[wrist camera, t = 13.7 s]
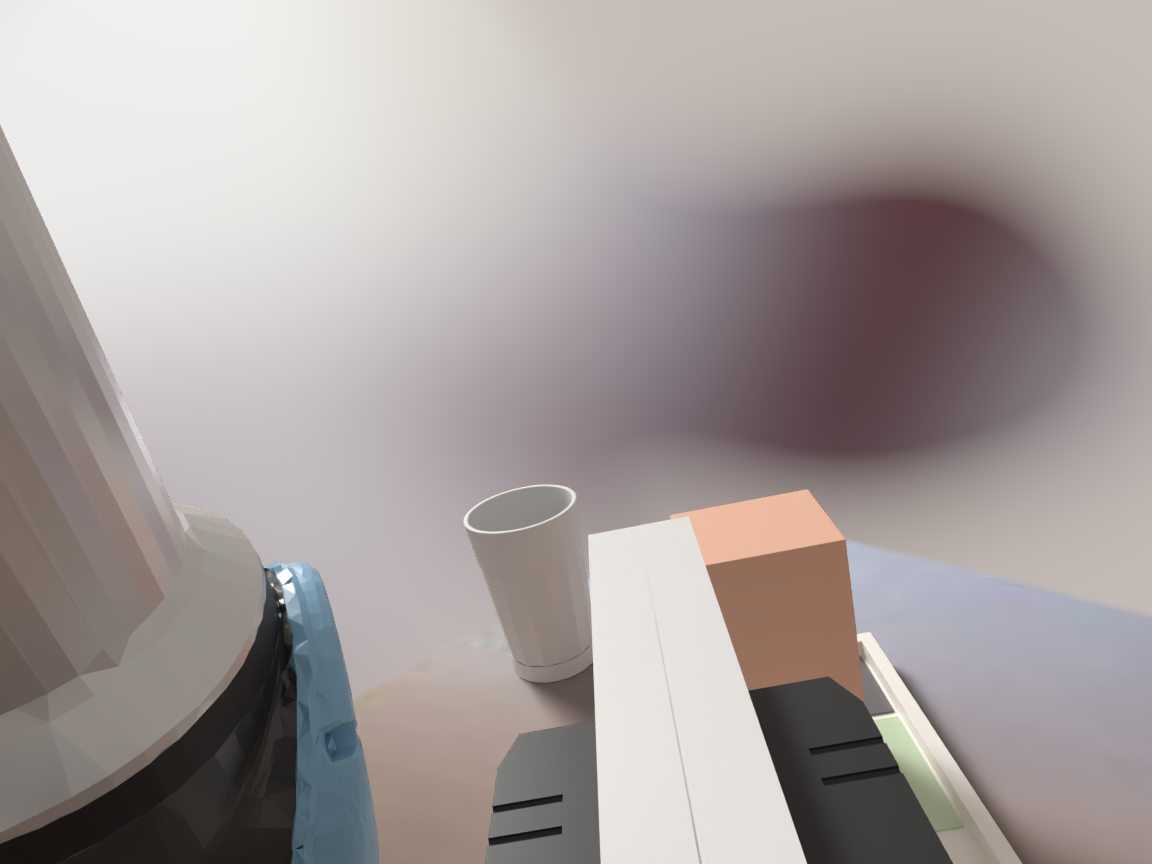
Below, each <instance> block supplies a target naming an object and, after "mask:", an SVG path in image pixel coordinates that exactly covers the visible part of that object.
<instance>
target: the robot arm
mask: <svg viewBox="0 0 1152 864" xmlns="http://www.w3.org/2000/svg"><path fill="white" fill-rule="evenodd" d="M588 540H589V567H590V594H591V620H592V647H593V673H594V699H595V721H591V722H585V723H579V724H574V725H568V726H562V727H557V728H551V729H545V730H540V731H534V732H528V733H523V734H519V736H518V737H517V739H516V740H515V742H514V743H513V745H512V746H511V748H510V750H509V751H508V753H507V754H506V756H505V757H504V759H503V761H502V762H501V764H500V765H499V767H498V768H497V776H496V783H495V791H494V798H493V814H491V821H490V829H489V836H488V840H489V846H488V847H487V851H486V859H485V864H953V862H952V860H951V859H950V857H949V855H948V853H947V851H946V850H945V848H944V846H943V844H942V842H941V841H940V839H939V837H938V835H937V833H936V832H935V830H934V828H933V826H932V824H931V823H930V821H929V819H928V817H927V815H926V814H925V812H924V810H923V808H922V806H921V805H920V803H919V801H918V799H917V797H916V796H915V794H914V792H913V790H912V788H911V787H910V785H909V783H908V781H907V779H906V778H905V776H904V774H903V773H901V772H900V769H899V765H898V763H897V761H896V760H895V758H894V756H893V754H892V752H891V751H890V749H889V747H888V745H887V743H884V741H883V737H882V734H881V733H880V731H879V729H878V727H877V725H876V724H875V722H874V720H873V718H872V716H871V715H870V713H869V711H868V709H867V708H866V706H865V704H864V702H863V701H862V700H860V699H859V698H858V697H856V696H855V695H853V694H852V693H851V692H849V691H848V690H847V689H845V688H844V687H843V686H841V685H840V684H838V683H837V682H836V681H834V680H833V679H832V678H830V677H829V676H828V677H822V678H817V679H811V680H805V681H800V682H794V683H788V684H783V685H777V686H771V687H766V688H760V689H754V690H749V691H748V689H747V686H746V683H745V680H744V677H743V674H742V671H741V668H740V666H739V663H738V660H737V657H736V654H735V651H734V648H733V645H732V642H731V639H730V636H729V633H728V630H727V627H726V624H725V622H724V619H723V616H722V613H721V610H720V607H719V604H718V601H717V598H716V595H715V592H714V589H713V586H712V583H711V581H710V578H709V575H708V572H707V569H706V566H705V563H704V560H703V557H702V554H701V551H700V548H699V545H698V542H697V540H696V537H695V534H694V531H693V528H692V525H691V522H690V519H689V516H687V517H682V518H676V519H671V520H666V521H660V522H655V523H650V524H645V525H639V526H634V527H629V528H624V529H618V530H613V531H608V532H603V533H598V534H592V535H588ZM356 727H357V721H356V717H355V713H354V708H353V702H352V693H351V689H350V684H349V679H348V675H347V670H346V666H345V662H344V658H343V653H342V649H341V645H340V640H339V636H338V633H337V629H336V625H335V621H334V617H333V613H332V610H331V606H330V603H329V599H328V596H327V593H326V590H325V586H324V584H323V582H322V579H321V577H320V574H319V572H318V571H317V570H316V569H315V568H314V567H312V566H311V565H309V564H307V563H301V562H300V563H291V564H283V563H278V562H274V563H272V564H271V565H269V566H264V567H263V566H262V563H261V560H260V558H259V556H258V554H257V553H256V551H255V549H254V548H253V546H252V545H251V543H250V541H249V540H248V538H247V537H246V536H245V534H244V533H243V532H242V530H241V529H239V528H238V527H237V526H235V525H234V524H233V523H231V522H230V521H229V520H227V519H225V518H223V517H221V516H219V515H217V514H215V513H213V512H210V511H207V510H204V509H201V508H198V507H194V506H189V505H184V504H177V503H172V502H171V500H170V498H169V496H168V494H167V491H166V489H165V487H164V485H163V482H162V480H161V478H160V476H159V474H158V471H157V469H156V467H155V465H154V463H153V460H152V458H151V456H150V454H149V452H148V450H147V447H146V445H145V443H144V441H143V438H142V436H141V434H140V432H139V430H138V427H137V425H136V423H135V421H134V419H133V417H132V414H131V412H130V410H129V408H128V405H127V403H126V401H125V399H124V397H123V394H122V392H121V390H120V388H119V386H118V383H117V381H116V379H115V377H114V375H113V373H112V370H111V368H110V366H109V364H108V361H107V359H106V357H105V355H104V353H103V350H102V348H101V346H100V344H99V342H98V339H97V337H96V335H95V333H94V331H93V328H92V326H91V324H90V322H89V320H88V317H87V315H86V313H85V311H84V309H83V307H82V304H81V302H80V300H79V298H78V295H77V293H76V291H75V289H74V287H73V284H72V282H71V280H70V278H69V276H68V274H67V271H66V269H65V267H64V265H63V262H62V260H61V258H60V256H59V254H58V251H57V249H56V247H55V245H54V243H53V240H52V238H51V236H50V234H49V232H48V229H47V227H46V225H45V223H44V221H43V218H42V216H41V214H40V212H39V210H38V207H37V205H36V203H35V201H34V199H33V196H32V194H31V192H30V190H29V188H28V185H27V183H26V181H25V179H24V177H23V175H22V172H21V170H20V168H19V166H18V163H17V161H16V159H15V157H14V155H13V152H12V150H11V148H10V146H9V143H8V141H7V139H6V137H5V135H4V133H3V130H2V128H1V126H0V864H379V844H378V835H377V828H376V820H375V813H374V807H373V801H372V795H371V789H370V783H369V778H368V773H367V768H366V763H365V758H364V753H363V749H362V745H361V742H360V738H359V736H358V735H357V733H356Z"/></svg>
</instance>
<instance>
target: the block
mask: <svg viewBox="0 0 1152 864" xmlns="http://www.w3.org/2000/svg"><path fill="white" fill-rule="evenodd" d="M687 516H689V519H690V522H691V525H692V528H693V531H694V534H695V537H696V540H697V542H698V545H699V548H700V551H701V554H702V557H703V560H704V563H705V566H706V569H707V572H708V575H709V578H710V581H711V583H712V586H713V589H714V592H715V595H716V598H717V601H718V604H719V607H720V610H721V613H722V616H723V619H724V622H725V624H726V627H727V630H728V633H729V636H730V639H731V642H732V645H733V648H734V651H735V654H736V657H737V660H738V663H739V666H740V668H741V671H742V674H743V677H744V680H745V683H746V686H747V689H748V691H749V690H754V689H760V688H766V687H771V686H777V685H783V684H788V683H794V682H800V681H805V680H811V679H817V678H822V677H828V676H829V677H830V678H832V679H833V680H834V681H836V682H837V683H838V684H840V685H841V686H843V687H844V688H845V689H847V690H848V691H849V692H851V693H852V694H853V695H855V696H856V697H858V698H859V699H860V700H862V701H863V702H864V704H865V700H864V692H863V683H862V675H861V666H860V658H859V650H858V641H857V633H856V624H855V616H854V607H853V599H852V591H851V582H850V574H849V565H848V557H847V549H846V540H845V538H844V537H843V536H842V534H841V533H840V532H839V530H838V529H837V528H836V526H835V525H834V524H833V522H832V521H831V520H830V519H829V517H828V516H827V515H826V513H825V512H824V511H823V509H822V508H821V507H820V505H819V504H818V503H817V501H816V500H815V499H814V497H813V496H812V495H811V493H810V492H809V491H808V490H801V491H796V492H791V493H785V494H780V495H775V496H770V497H764V498H759V499H754V500H749V501H743V502H738V503H733V504H727V505H722V506H717V507H712V508H706V509H701V510H696V511H691V512H685V513H680V514H675V515H670V520H671V519H676V518H682V517H687Z"/></svg>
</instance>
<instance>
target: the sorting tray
mask: <svg viewBox="0 0 1152 864" xmlns="http://www.w3.org/2000/svg"><path fill="white" fill-rule="evenodd" d="M857 641H858V650H859V658H860V666H861V675H862V683H863V692H864V700H865V706H866V708H867V709H868V711H869V713H870V715H871V716H872V718H873V720H874V722H875V724H876V725H877V727H878V729H879V731H880V733H881V734H882V737H883V741H884V743H887V745H888V747H889V749H890V751H891V752H892V754H893V756H894V758H895V760H896V761H897V763H898V765H899V769H900V772H901V773H903V774H904V776H905V778H906V779H907V781H908V783H909V785H910V787H911V788H912V790H913V792H914V794H915V796H916V797H917V799H918V801H919V803H920V805H921V806H922V808H923V810H924V812H925V814H926V815H927V817H928V819H929V821H930V823H931V824H932V826H933V828H934V830H935V832H936V833H937V835H938V837H939V839H940V841H941V842H942V844H943V846H944V848H945V850H946V851H947V853H948V855H949V857H950V859H951V860H952V862H953V864H1022V862H1021V861H1020V859H1019V858H1018V856H1017V855H1016V853H1015V852H1014V850H1013V849H1012V847H1011V846H1010V844H1009V843H1008V841H1007V840H1006V838H1005V836H1004V835H1003V833H1002V832H1001V830H1000V829H999V827H998V826H997V824H996V823H995V821H994V820H993V818H992V817H991V815H990V814H989V812H988V811H987V809H986V808H985V806H984V805H983V803H982V802H981V800H980V798H979V797H978V795H977V794H976V792H975V791H974V789H973V788H972V786H971V785H970V783H969V782H968V780H967V779H966V777H965V776H964V774H963V773H962V771H961V770H960V768H959V767H958V765H957V763H956V762H955V760H954V759H953V757H952V756H951V754H950V753H949V751H948V750H947V748H946V747H945V745H944V744H943V742H942V741H941V739H940V738H939V736H938V735H937V733H936V732H935V730H934V729H933V727H932V725H931V724H930V722H929V721H928V719H927V718H926V716H925V715H924V713H923V712H922V710H921V709H920V707H919V706H918V704H917V703H916V701H915V700H914V698H913V697H912V695H911V694H910V692H909V691H908V689H907V687H906V686H905V684H904V683H903V681H902V680H901V678H900V677H899V675H898V674H897V672H896V671H895V669H894V668H893V666H892V665H891V663H890V662H889V660H888V659H887V657H886V656H885V654H884V653H883V651H882V649H881V648H880V646H879V645H878V643H877V642H876V640H875V639H874V637H873V636H872V634H871V633H870V632H867V633H862V634H857Z"/></svg>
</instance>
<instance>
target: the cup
mask: <svg viewBox="0 0 1152 864" xmlns="http://www.w3.org/2000/svg"><path fill="white" fill-rule="evenodd" d="M464 526H465V529H466V531H467V534H468V537H469V539H470V542H471V545H472V547H473V550H474V553H475V556H476V558H477V561H478V563H479V566H480V567H481V570H482V573H483V576H484V579H485V581H486V584H487V587H488V590H489V593H490V595H491V598H492V601H493V604H494V607H495V610H496V613H497V615H498V618H499V621H500V624H501V627H502V630H503V633H504V635H505V638H506V641H507V644H508V647H509V650H510V654H511V658H512V662H513V666H514V669H515V672H516V673H517V675H518V676H520V677H521V678H523V679H525V680H527V681H531V682H538V683H548V682H555V681H560V680H564V679H567V678H570V677H572V676H574V675H576V674H578V673H580V672H582V671H583V670H585V669H586V668H587V667H589V666H590V665H591V664H592V663H593V647H592V620H591V602H590V595H589V588H588V580H587V573H586V566H585V559H584V552H583V545H582V537H581V529H580V521H579V513H578V505H577V497H576V494H575V492H574V491H573V490H571V489H570V488H567V487H564V486H559V485H534V486H527V487H522V488H518V489H513V490H509V491H507V492H503V493H500V494H497V495H495V496H493V497H490V498H488V499H486V500H484V501H482V502H481V503H479V504H477V505H476V506H474V508H472V509H471V510H470V511H469V512H468V513H467V514H466V516H465V518H464Z"/></svg>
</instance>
